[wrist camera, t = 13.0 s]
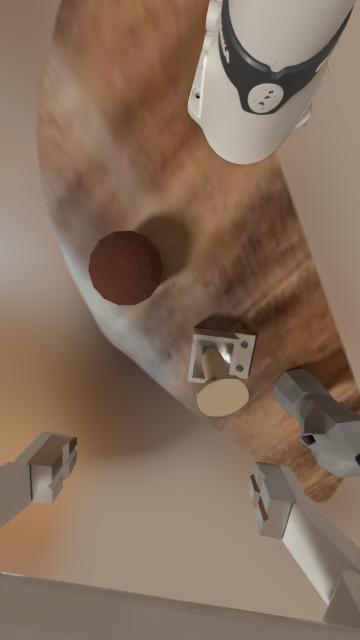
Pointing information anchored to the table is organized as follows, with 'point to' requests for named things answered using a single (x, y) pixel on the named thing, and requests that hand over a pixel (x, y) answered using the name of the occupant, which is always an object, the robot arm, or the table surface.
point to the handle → (219, 386)
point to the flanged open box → (228, 344)
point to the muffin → (125, 268)
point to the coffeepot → (321, 422)
